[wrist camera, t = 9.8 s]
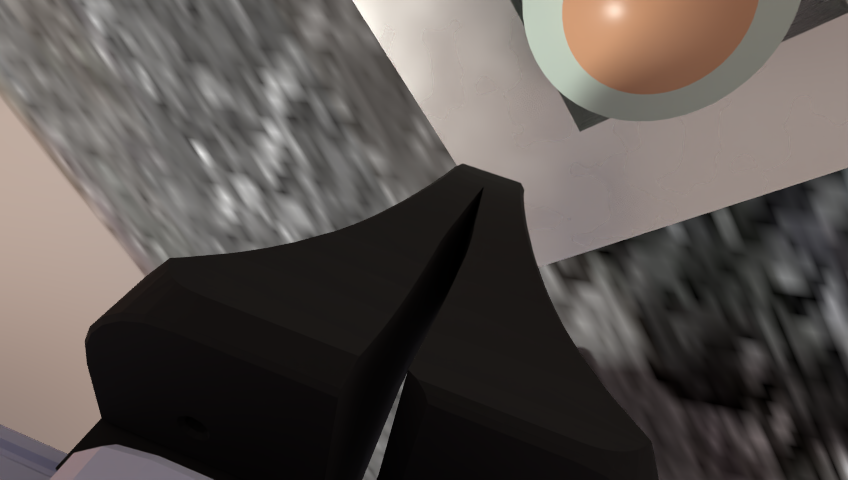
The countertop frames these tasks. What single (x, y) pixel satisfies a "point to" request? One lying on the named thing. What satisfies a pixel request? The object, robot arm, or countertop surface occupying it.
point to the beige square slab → (616, 122)
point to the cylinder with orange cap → (653, 50)
